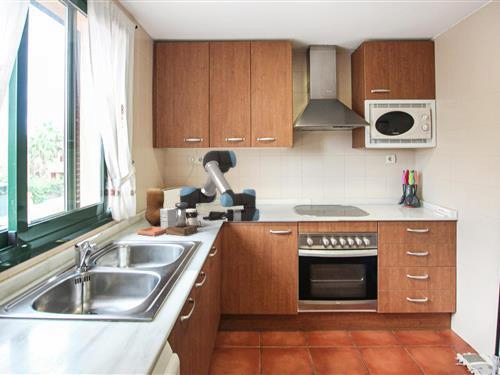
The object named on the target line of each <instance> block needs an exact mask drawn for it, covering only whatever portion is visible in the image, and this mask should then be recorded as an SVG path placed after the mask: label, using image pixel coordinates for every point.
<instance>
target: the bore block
mask: <svg viewBox="0 0 500 375" xmlns="http://www.w3.org/2000/svg"><path fill="white" fill-rule="evenodd" d="M197 232H198V227H197V225H186V227H184V228H179V227H178V226H177V225H174V226H170V227H166V233H165V234H166V235H168V234H170V235H171V236H180V237H186V236H190V235H193V234H196V233H197Z"/></svg>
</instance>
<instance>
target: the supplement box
mask: <svg viewBox="0 0 500 375" xmlns="http://www.w3.org/2000/svg"><path fill="white" fill-rule="evenodd" d="M160 216H161V224H160V228H166V227H170V226H174V225H177V208H176V207H173V208H172V207H164V209H160Z"/></svg>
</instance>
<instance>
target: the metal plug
mask: <svg viewBox="0 0 500 375" xmlns="http://www.w3.org/2000/svg"><path fill="white" fill-rule="evenodd" d="M174 204H175V207H174V208H176V220H177V226H178V227H179V228H184V227H186V207H187V203H180V202H175V203H174Z"/></svg>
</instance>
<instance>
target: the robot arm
mask: <svg viewBox="0 0 500 375" xmlns="http://www.w3.org/2000/svg"><path fill="white" fill-rule="evenodd" d="M236 166H237V156H236V153H235V152H234V151H233V150H229V149H228V150H225V149H224V150H223V149H222V150H220V149H218V150H215V149H213V150H209V151H208V152H206V153H205V155H204V156H203V158H202V167H203V169H204V171H205V173H207V174H209V176H208V177H207V180H206V181H205V183H203V184H202V185H201V186H200V187H198V188H197V187H196V186H194V185H193V186H185V187H182V188H181V189H180V190H179V203H187V207H186V209H196V212H197V213H198V215H199V216H197V221H198V220H203V221H210V222H214V221H222V220H223V221H225V220H226V221H227V223H233V222H237V223H240V222H242V223H243V222H248V223H249V222H259V220H260V209H259V208H257V206H256V205H257V195H256V194H257V193H256V189H252V188H245V189H243V191H242V192H238V193H237V192H236V193H235V191H234V190H233V189H232V187H231V186H230V184H229V182H228V180H227V179H226V176H225V174H227V173H228V172H229V170H231V168H232V169H234V168H235V167H236ZM217 191H218V194H220V197H219V202H220V205H221V206H222V207H224V208H229V209H227V210H226V211H212V210H211V211H198V210H197V205H200V204H210V203H214V202H215V201H216V199H217V196H218V194H217ZM231 207H232V209H231ZM233 207H243V208H242V209H241V208H235V209H233Z"/></svg>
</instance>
